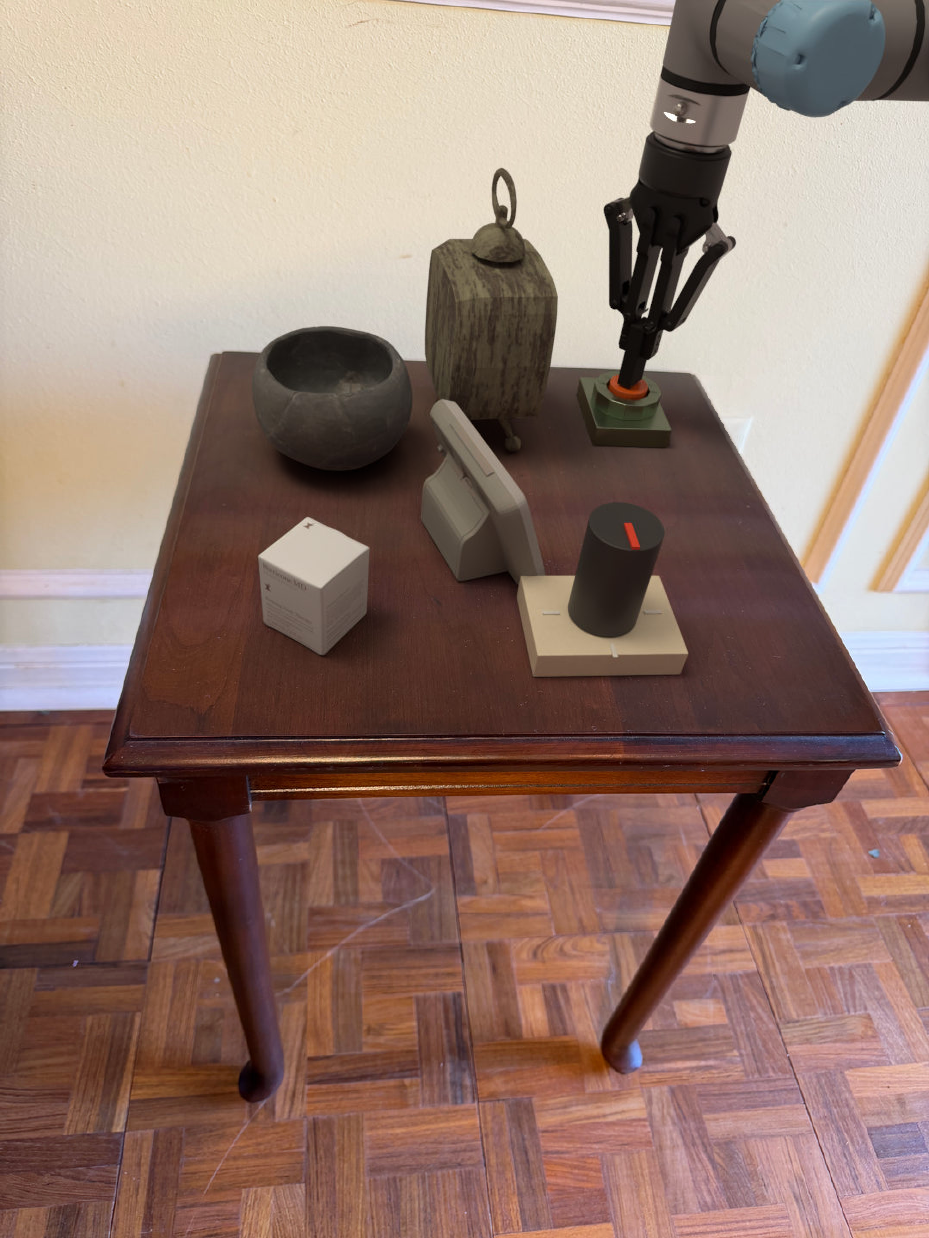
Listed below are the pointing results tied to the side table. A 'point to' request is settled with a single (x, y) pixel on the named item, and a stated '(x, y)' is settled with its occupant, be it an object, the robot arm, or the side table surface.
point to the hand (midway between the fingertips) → (629, 381)
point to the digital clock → (476, 505)
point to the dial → (614, 568)
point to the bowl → (332, 396)
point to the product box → (314, 584)
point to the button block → (622, 414)
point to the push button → (634, 392)
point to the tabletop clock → (491, 321)
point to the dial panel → (582, 654)
